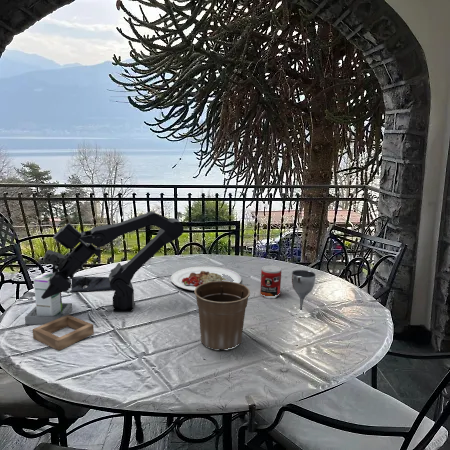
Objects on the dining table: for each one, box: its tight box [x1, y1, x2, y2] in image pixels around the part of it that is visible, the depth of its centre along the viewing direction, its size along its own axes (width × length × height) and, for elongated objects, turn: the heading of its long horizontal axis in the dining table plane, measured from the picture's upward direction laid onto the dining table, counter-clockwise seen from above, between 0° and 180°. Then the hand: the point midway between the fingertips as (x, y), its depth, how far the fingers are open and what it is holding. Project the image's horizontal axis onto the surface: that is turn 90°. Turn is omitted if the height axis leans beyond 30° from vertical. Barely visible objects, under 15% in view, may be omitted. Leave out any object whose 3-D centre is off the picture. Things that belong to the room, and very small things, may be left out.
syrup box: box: [33, 272, 63, 316], centre depth 127 cm, size 6×6×14 cm
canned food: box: [259, 265, 282, 296], centre depth 152 cm, size 8×8×11 cm
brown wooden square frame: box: [32, 314, 95, 351], centre depth 116 cm, size 12×12×3 cm
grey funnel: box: [291, 269, 317, 310], centre depth 135 cm, size 8×8×15 cm
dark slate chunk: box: [70, 276, 114, 293], centre depth 157 cm, size 15×22×5 cm
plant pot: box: [194, 281, 251, 350], centre depth 115 cm, size 16×16×16 cm
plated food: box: [170, 265, 242, 292], centre depth 166 cm, size 30×30×3 cm
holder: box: [24, 302, 73, 325], centre depth 128 cm, size 11×11×2 cm
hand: (43, 292), depth 126 cm, fingers open, 9 cm apart
